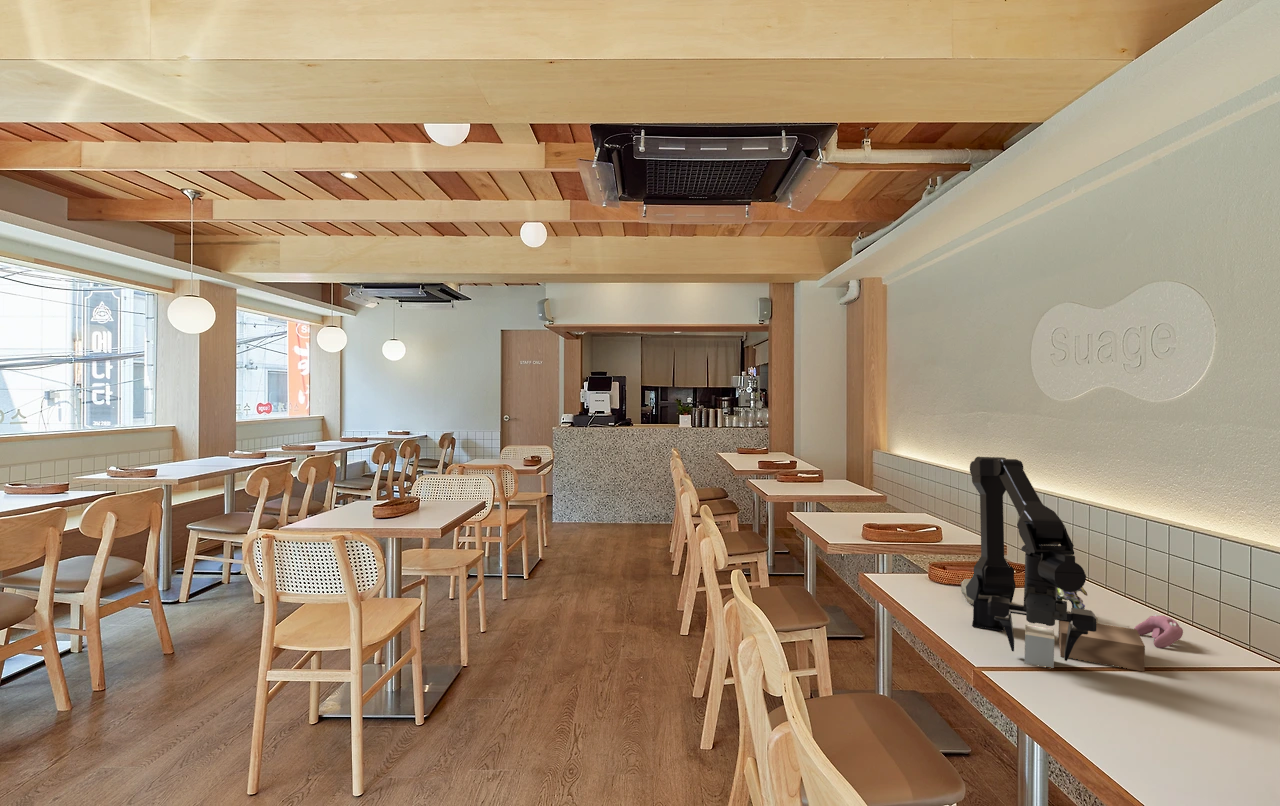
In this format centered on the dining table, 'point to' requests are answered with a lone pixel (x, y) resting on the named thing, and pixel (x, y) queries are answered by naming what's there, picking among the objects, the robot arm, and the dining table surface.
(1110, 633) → the walnut step
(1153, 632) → the pink creature figurine
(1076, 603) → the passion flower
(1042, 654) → the grey block
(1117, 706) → the dining table surface
